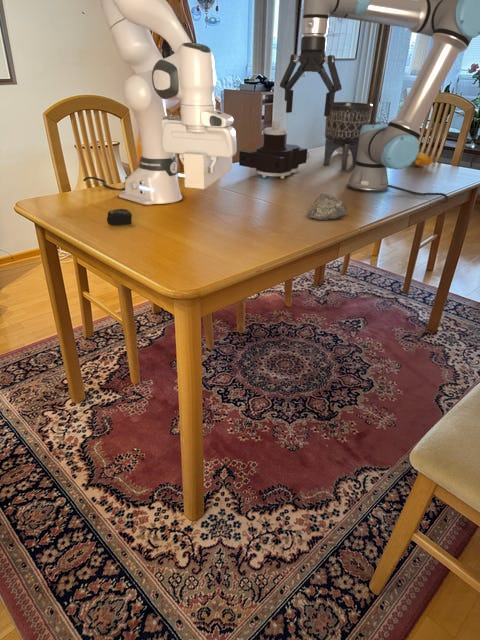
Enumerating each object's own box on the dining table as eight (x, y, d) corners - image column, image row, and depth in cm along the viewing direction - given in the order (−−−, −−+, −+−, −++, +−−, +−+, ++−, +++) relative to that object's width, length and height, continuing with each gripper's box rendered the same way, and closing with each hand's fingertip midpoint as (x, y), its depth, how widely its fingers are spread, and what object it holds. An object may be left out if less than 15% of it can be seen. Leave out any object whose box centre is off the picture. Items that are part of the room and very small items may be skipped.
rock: (331, 208, 151) (334, 189, 147) (352, 215, 145) (356, 195, 142) (304, 216, 143) (306, 195, 140) (325, 223, 137) (328, 202, 134)
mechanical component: (240, 120, 182) (283, 115, 202) (239, 174, 192) (280, 164, 212) (283, 126, 170) (325, 120, 190) (280, 183, 180) (320, 171, 200)
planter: (313, 167, 208) (319, 103, 195) (331, 160, 222) (338, 101, 209) (353, 173, 199) (362, 107, 185) (369, 166, 213) (379, 104, 199)
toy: (408, 159, 210) (402, 152, 223) (410, 173, 213) (404, 165, 225) (433, 152, 207) (426, 145, 219) (435, 165, 210) (428, 158, 222)
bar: (215, 168, 144) (215, 139, 139) (232, 169, 142) (232, 140, 138) (184, 187, 123) (183, 153, 118) (203, 189, 121) (203, 155, 117)
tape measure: (107, 228, 130) (105, 215, 128) (109, 220, 136) (108, 208, 134) (131, 227, 131) (130, 214, 129) (133, 220, 137) (131, 207, 135)
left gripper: (155, 115, 116) (159, 171, 123) (231, 120, 112) (231, 177, 119) (166, 113, 122) (169, 166, 129) (239, 117, 117) (238, 172, 124)
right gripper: (271, 35, 138) (268, 112, 148) (348, 35, 126) (338, 118, 136) (283, 36, 143) (279, 110, 154) (358, 36, 131) (348, 116, 142)
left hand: (199, 171), depth 124 cm, fingers closed on bar, 5 cm apart
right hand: (307, 114), depth 145 cm, fingers open, 13 cm apart
